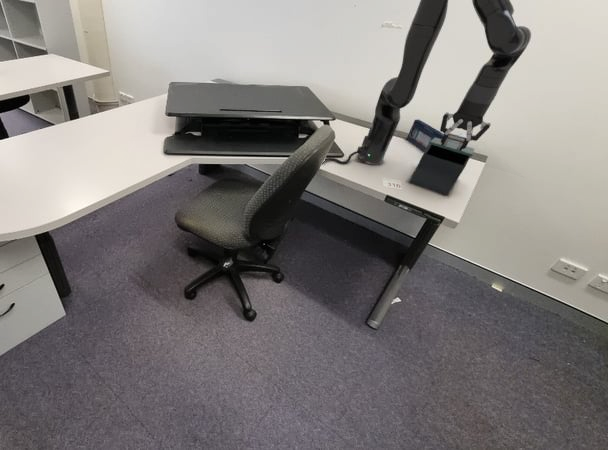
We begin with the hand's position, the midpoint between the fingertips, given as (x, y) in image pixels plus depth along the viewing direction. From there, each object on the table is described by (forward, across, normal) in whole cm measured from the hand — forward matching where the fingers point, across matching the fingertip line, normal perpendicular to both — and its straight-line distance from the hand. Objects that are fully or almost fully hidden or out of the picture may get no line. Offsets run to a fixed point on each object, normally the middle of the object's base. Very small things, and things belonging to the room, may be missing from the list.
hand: (451, 146), depth 116 cm
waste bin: (+17, 0, +5) cm, 18 cm away
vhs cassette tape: (+18, -11, +32) cm, 38 cm away
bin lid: (+2, 0, +5) cm, 5 cm away
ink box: (+18, 0, +26) cm, 32 cm away
